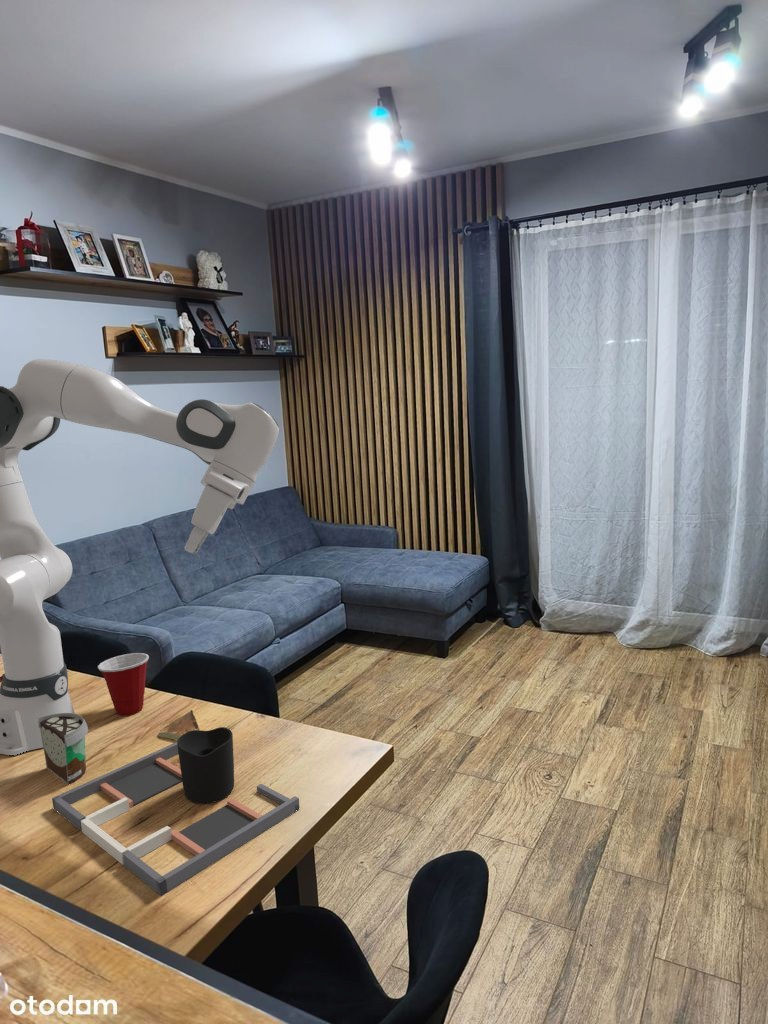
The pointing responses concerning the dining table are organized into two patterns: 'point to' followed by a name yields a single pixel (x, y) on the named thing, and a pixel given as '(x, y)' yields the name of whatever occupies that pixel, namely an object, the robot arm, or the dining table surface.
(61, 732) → the food container
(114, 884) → the dining table surface
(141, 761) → the box
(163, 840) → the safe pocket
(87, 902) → the dining table surface
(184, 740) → the pen holder
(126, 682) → the plastic cup
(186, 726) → the shard
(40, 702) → the robot arm
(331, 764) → the dining table surface
